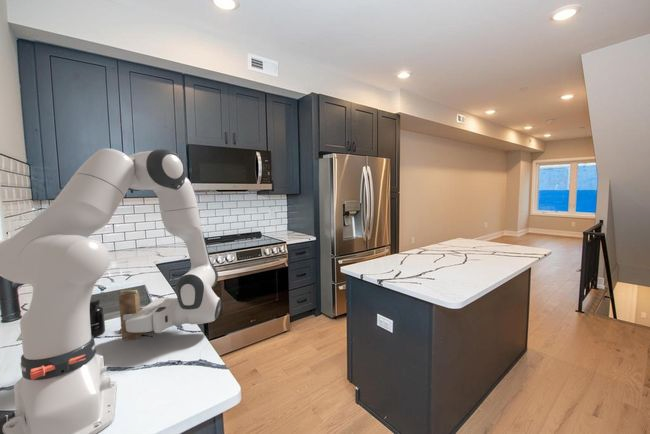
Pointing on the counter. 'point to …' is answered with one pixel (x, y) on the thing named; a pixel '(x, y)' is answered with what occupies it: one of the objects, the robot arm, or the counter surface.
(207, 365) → the counter surface
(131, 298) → the brown tall rectangular block
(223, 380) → the counter surface
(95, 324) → the supplement bottle
